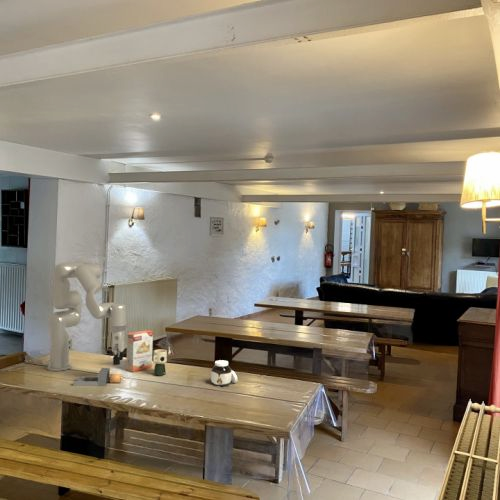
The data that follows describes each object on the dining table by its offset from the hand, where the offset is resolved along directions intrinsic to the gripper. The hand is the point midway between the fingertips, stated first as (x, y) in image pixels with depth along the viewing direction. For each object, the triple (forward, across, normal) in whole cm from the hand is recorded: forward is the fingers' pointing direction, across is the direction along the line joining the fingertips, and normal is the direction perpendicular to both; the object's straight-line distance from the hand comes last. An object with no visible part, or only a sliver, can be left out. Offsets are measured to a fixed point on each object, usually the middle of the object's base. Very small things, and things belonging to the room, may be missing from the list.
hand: (118, 362), depth 247 cm
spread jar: (+12, -4, -54) cm, 55 cm away
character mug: (+11, +14, -20) cm, 26 cm away
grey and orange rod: (+10, 0, +7) cm, 12 cm away
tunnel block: (+10, 0, +13) cm, 17 cm away
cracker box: (+10, +24, -8) cm, 28 cm away
